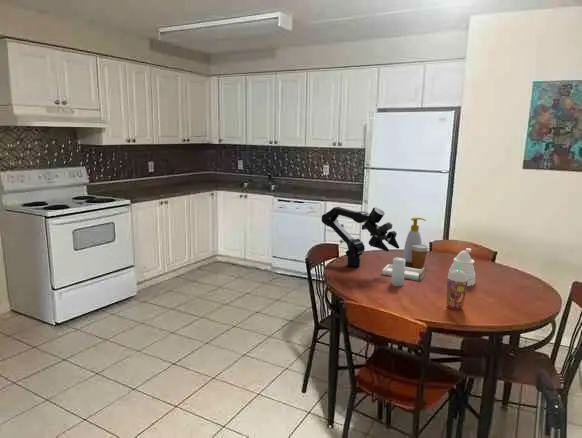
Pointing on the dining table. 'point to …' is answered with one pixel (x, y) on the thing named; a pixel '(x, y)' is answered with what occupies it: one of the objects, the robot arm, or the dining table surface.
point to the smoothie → (456, 289)
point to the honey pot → (465, 265)
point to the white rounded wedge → (398, 271)
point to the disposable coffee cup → (418, 255)
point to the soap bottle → (412, 240)
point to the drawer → (406, 272)
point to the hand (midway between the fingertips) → (393, 249)
